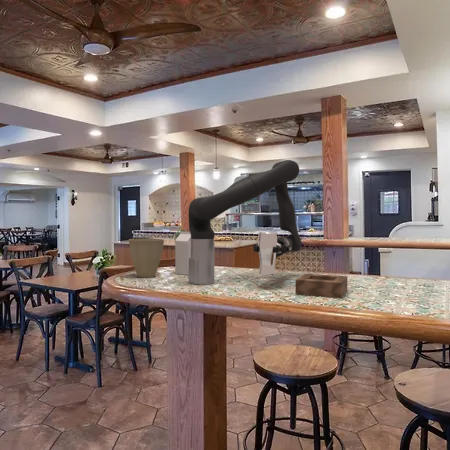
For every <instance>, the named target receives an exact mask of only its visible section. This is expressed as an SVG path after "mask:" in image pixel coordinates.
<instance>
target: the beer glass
mask: <svg viewBox="0 0 450 450" xmlns="http://www.w3.org/2000/svg"><path fill="white" fill-rule="evenodd" d="M277 235H278V233H277V232H268V231H267V232H266V231H265V232H263V231H262V232H258V238H257V244H258V252H257V253H258V258H259V270H258V275H262V276H275V275H277V274H276V266H275V265H276V264H275V263H276V258H277V257H276V253H274V248H275V247H277V237H278V236H277Z"/></svg>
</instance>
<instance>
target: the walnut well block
mask: <svg viewBox="0 0 450 450" xmlns="http://www.w3.org/2000/svg"><path fill="white" fill-rule="evenodd" d="M347 292H348V276H347V275H333V274H332V275H331V274H320V273H317V274H316V273H304V274H301V276H299V277H297V278H295V292H294V293H295V295H297V296H299V295H300V296H309V297H319V296H321V297H320V298H322V297H323V298H331V297H332V299H343V297H344V296H345V295H346V293H347Z"/></svg>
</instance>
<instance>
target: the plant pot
mask: <svg viewBox="0 0 450 450" xmlns="http://www.w3.org/2000/svg"><path fill="white" fill-rule="evenodd" d="M128 243H129V251H130V255H131V260H132V264H133V267H134V271H135V273H136V276H137V277H138V278H141V279H142V278H146V279H147V278H154V277H156V274H157V272H158V269H159V265H160V262H161V260H162V259H161V258H162V255H163V250H164V243H165V239H163V238H130V239H128Z"/></svg>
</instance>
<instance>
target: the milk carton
mask: <svg viewBox="0 0 450 450" xmlns="http://www.w3.org/2000/svg"><path fill="white" fill-rule="evenodd" d="M174 243H175V244H174V246H175V247H174V248H175V249H174V253H175V255H174V257H175V258H174V259H175V261H174V263H175V266H174V267H175V268H174V271H175V275H185V276H189V258H191V234H190V231H179V235H178V236H177V237H176V239H175V240H174Z"/></svg>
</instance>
